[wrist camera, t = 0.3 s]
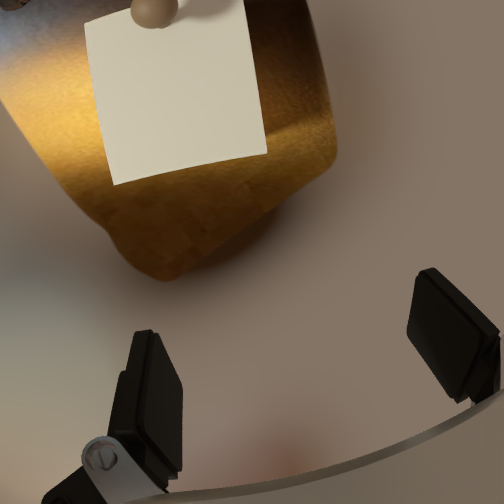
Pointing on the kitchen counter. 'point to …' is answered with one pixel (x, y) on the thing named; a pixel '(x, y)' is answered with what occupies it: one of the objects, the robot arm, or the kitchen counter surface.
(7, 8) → the broken clay pot
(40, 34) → the kitchen counter surface
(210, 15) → the carton lid
